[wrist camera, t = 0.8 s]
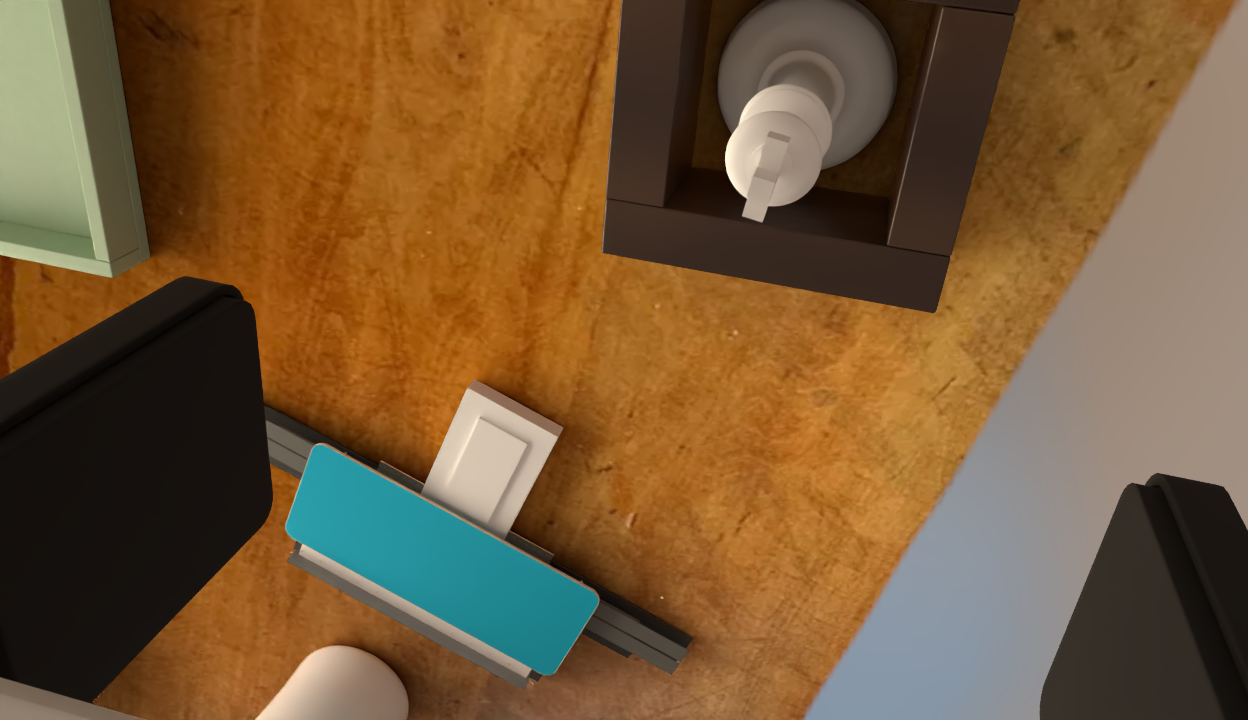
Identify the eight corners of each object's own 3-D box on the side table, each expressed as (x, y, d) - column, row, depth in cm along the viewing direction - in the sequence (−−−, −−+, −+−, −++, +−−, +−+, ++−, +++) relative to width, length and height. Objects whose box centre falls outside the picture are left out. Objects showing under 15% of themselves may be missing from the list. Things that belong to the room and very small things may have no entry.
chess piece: (698, 139, 29) (610, 263, 20) (747, -35, 26) (671, 22, 18) (860, 189, 28) (841, 339, 20) (925, 17, 26) (937, 102, 17)
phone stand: (767, 536, 34) (761, 566, 33) (629, 724, 41) (619, 757, 39) (272, 267, 35) (245, 285, 33) (209, 495, 41) (183, 519, 39)
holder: (666, -115, 26) (629, -109, 22) (1018, -76, 24) (1037, -63, 21) (635, 207, 30) (600, 253, 27) (931, 258, 29) (935, 314, 25)
